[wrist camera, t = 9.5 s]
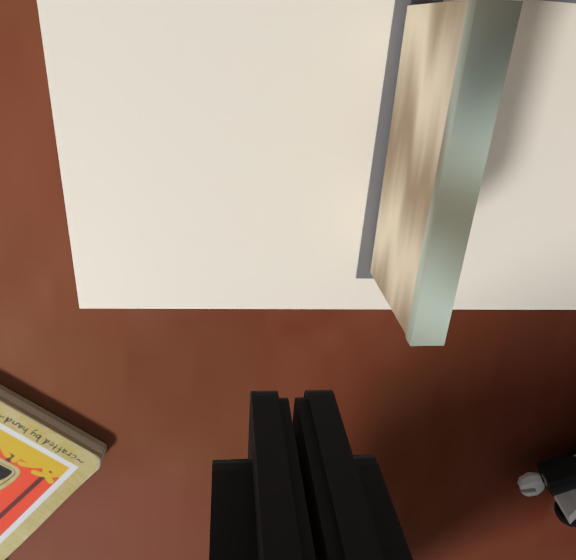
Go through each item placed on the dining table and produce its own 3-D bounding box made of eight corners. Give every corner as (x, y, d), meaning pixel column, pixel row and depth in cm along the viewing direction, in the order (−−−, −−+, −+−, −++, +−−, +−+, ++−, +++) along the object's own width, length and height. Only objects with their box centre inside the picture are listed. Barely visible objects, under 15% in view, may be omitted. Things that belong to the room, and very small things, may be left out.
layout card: (616, 306, 29) (622, 310, 29) (81, 304, 26) (78, 309, 25) (793, -121, 20) (805, -124, 20) (10, -221, 17) (4, -228, 16)
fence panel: (404, 5, 20) (477, -3, 14) (438, 7, 20) (523, 1, 15) (368, 272, 26) (410, 346, 20) (394, 272, 26) (444, 345, 20)
